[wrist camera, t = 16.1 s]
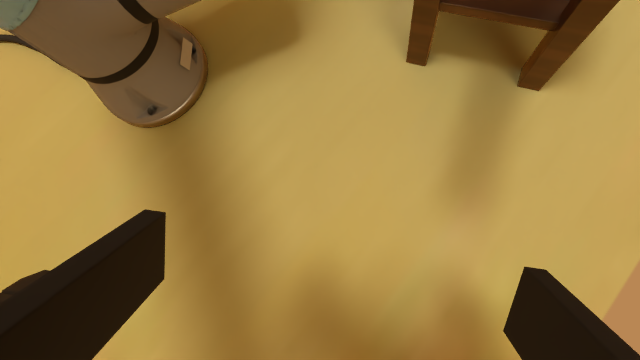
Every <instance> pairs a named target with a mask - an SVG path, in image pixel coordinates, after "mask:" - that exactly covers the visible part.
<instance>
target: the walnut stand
mask: <svg viewBox="0 0 640 360" xmlns="http://www.w3.org/2000/svg"><path fill="white" fill-rule="evenodd" d="M619 1H620V0H414V6H413V13H412V21H411V29H410V36H409V44H408V52H407V59H406V62H409V63H413V64H418V65H422V66H425V65H426V62H427V59H428V55H429V52H430V49H431V45H432V40H433V36H434V32H435V28H436V23H437V19H438V15H439V11H443V12H449V13H454V14H460V15H465V16H471V17H477V18H482V19H488V20H493V21H499V22H504V23H510V24H516V25H521V26H527V27H532V28H538V29H544V30H549V31H548V32H547V34H546V35H545V37H544V38H543V39H542V41H541V42H540V44H539V45H538V47H537V48H536V49H535V51H534V52H533V54H532V55H531V56H530V58H529V59H528V61H527V62H526V63H525V65H524V66H523V68H522V70H521V73H520V77H519V81H518V85H517V86H519V87H524V88H528V89H533V90H537V91H539V90H540V89H541V88H542V87H543V86H544V84H545V83H546V82H547V81H548V80H549V79H550V78H551V77H552V75H553V74H554V73H555V72H556V71H557V70H558V69H559V68H560V67H561V65H562V64H563V63H564V62H565V61H566V60H567V59H568V58H569V56H570V55H571V54H572V53H573V52H574V51H575V50H576V49H577V48H578V46H579V45H580V44H581V43H582V42H583V41H584V40H585V39H586V37H587V36H588V35H589V34H590V33H591V32H592V31H593V30H594V29H595V27H596V26H597V25H598V24H599V23H600V22H601V21H602V20H603V18H604V17H605V16H606V15H607V14H608V13H609V12H610V11H611V10H612V8H613V7H614V6H615V5H616V4H617V3H618V2H619Z"/></svg>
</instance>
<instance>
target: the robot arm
mask: <svg viewBox="0 0 640 360" xmlns="http://www.w3.org/2000/svg"><path fill="white" fill-rule="evenodd" d="M198 1H200V0H0V28H1V29H4V30H6V31H9V32H10V33H12V34H14V35H15V36H13V35H0V41H10V42H16V43H19V44H22V45H25V46H27V47H30V48H32V49H34V50H37V51H39V52H41V53H43V54H44V55H46V56H47V57H49V58H50V59H52V60H53V61H55V62H56V63H58V64H59V65H61V66H63V67H65V68H67V69H69V70H70V71H72V72H73V73H75V74H77V75H78V76H80V77H81V78H83V79H85V80H86V81H87V83H88V84H89V85H90V87H91V88H92V89H93V91H94V92H95V93H96V94H97V96H98V97H99V98H100V100H101V101H102V102H103V104H104V105H105V106H106V107H107V108H108V109H109V110H110V111H111V112H112V113H113V114H114V115H115V116H117V117H118V118H120V119H122V120H123V121H125V122H127V123H129V124H131V125H134V126H138V127H157V126H161V125H165V124H167V123H170V122H172V121H174V120H176V119H177V118H179V117H180V116H182V115H183V114H184V113H185V112H187V111H188V110H189V109H190V108H191V107H192V106H193V104H194V103H195V102H196V101H197V99H198V98H199V96H200V94H201V93H202V91H203V88H204V86H205V83H206V79H207V74H208V63H207V58H206V54H205V52H204V50H203V48H202V46H201V45H200V43H199V42H198V41H197V40H196V38H195V37H194V36H193V35H192V34H191V33H190V32H189V31H188V30H186V29H185V28H184V27H182V26H180V25H179V24H177V23H175V22H173V21H172V20H170V19H168V18H166V17H165V16H167V15H169V14H171V13H174V12H176V11H178V10H180V9H183V8H185V7H187V6H189V5H192V4H194V3H196V2H198ZM165 217H166V213H165V212H159V211H152V210H143V211H142V212H140V213H139V214H137V215H136V216H134V217H133V218H131V219H130V220H128V221H126V222H125V223H123V224H122V225H120V226H119V227H117V228H116V229H114V230H113V231H111V232H110V233H108V234H106V235H105V236H103V237H102V238H100V239H99V240H97V241H96V242H94V243H93V244H91V245H90V246H88V247H86V248H85V249H83V250H82V251H80V252H79V253H77V254H76V255H74V256H73V257H71V258H70V259H68V260H66V261H65V262H63V263H62V264H60V265H59V266H57V267H56V268H54V269H53V270H51V271H48V270H43V271H40V272H38V273H35V274H33V275H30V276H27V277H25V278H22V279H20V280H18V281H17V282H15V283H14V284H12V285H10V286H9V287H7V288H5V289H4V290H2V293H0V360H92V359H93V358H94V357H95V355H96V354H97V353H98V352H99V351H100V350H101V349H102V348H103V347H104V345H105V344H106V343H107V342H108V341H109V340H110V339H111V338H112V337H113V335H114V334H115V333H116V332H117V331H118V330H119V329H120V328H121V326H122V325H123V324H124V323H125V322H126V321H127V320H128V319H129V318H130V316H131V315H132V314H133V313H134V312H135V311H136V310H137V309H138V308H139V306H140V305H141V304H142V303H143V302H144V301H145V300H146V299H147V298H148V296H149V295H150V294H151V293H152V292H153V291H154V290H155V289H156V287H157V286H158V285H159V284H160V283H161V282H162V281H163V280H164V266H165ZM503 331H504V333H505V334H506V336H507V337H508V339H509V340H510V342H511V343H512V345H513V347H514V348H515V350H516V351H517V353H518V354H519V356H520V357H521V359H522V360H640V355H639V354H638V353H637V352H636V351H634V350H633V349H632V348H631V347H630V346H629V345H628V344H627V343H626V342H624V341H623V340H622V339H621V338H620V337H619V336H618V335H617V334H616V333H615V332H614V331H612V330H611V329H610V328H609V327H608V326H607V325H606V324H605V323H604V322H603V321H601V320H600V319H599V318H598V317H597V316H596V315H595V314H594V313H593V312H592V311H590V310H589V309H588V308H587V307H586V306H585V305H584V304H583V303H582V302H581V301H579V300H578V299H577V298H576V297H575V296H574V295H573V294H572V293H571V292H570V291H568V290H567V289H566V288H565V287H564V286H563V285H562V284H561V283H560V282H559V281H558V280H556V279H555V278H554V277H553V276H552V275H551V274H550V273H549V272H548V271H547V270H544V269H537V268H530V267H524V270H523V273H522V276H521V279H520V282H519V285H518V288H517V291H516V294H515V297H514V300H513V303H512V306H511V309H510V312H509V315H508V318H507V321H506V324H505V327H504V330H503Z"/></svg>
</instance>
